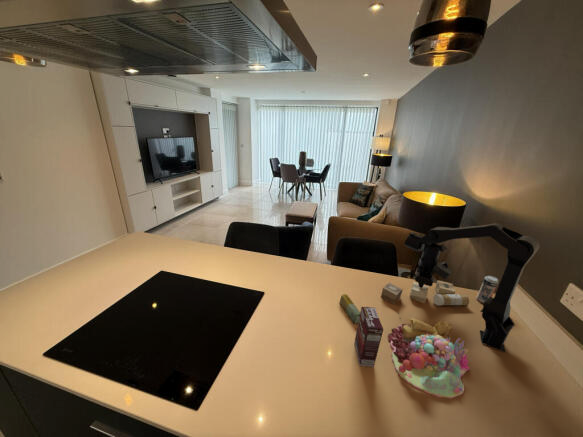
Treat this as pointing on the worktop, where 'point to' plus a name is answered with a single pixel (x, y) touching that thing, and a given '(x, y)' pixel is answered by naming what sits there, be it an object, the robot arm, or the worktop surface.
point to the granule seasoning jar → (450, 299)
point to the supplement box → (368, 336)
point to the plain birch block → (418, 292)
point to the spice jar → (487, 288)
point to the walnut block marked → (391, 293)
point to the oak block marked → (444, 288)
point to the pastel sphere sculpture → (429, 358)
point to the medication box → (350, 308)
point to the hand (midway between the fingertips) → (420, 287)
